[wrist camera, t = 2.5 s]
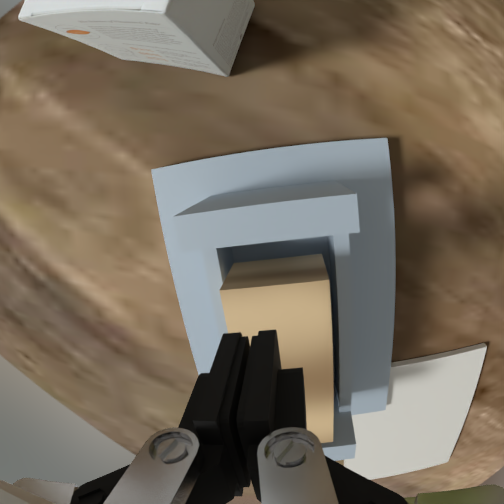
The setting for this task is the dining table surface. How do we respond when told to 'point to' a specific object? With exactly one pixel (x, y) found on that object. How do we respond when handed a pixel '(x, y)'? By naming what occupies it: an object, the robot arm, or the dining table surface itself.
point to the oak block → (289, 323)
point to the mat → (418, 414)
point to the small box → (151, 28)
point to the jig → (292, 251)
